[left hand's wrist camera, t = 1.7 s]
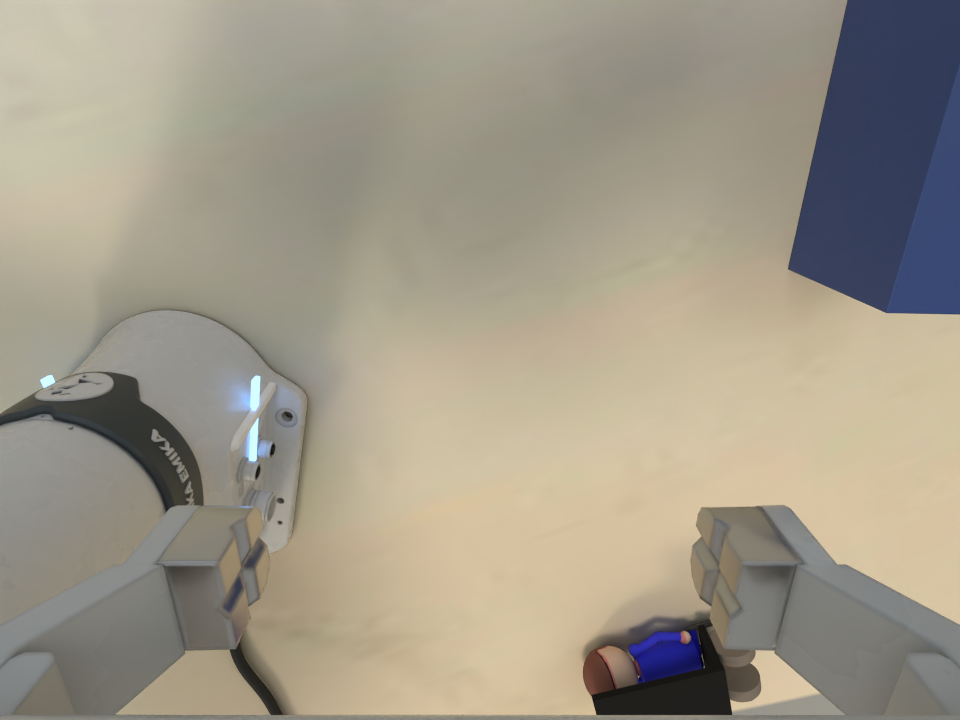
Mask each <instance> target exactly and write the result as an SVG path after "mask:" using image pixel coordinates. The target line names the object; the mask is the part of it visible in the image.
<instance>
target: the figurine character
mask: <svg viewBox="0 0 960 720" xmlns="http://www.w3.org/2000/svg"><path fill="white" fill-rule="evenodd" d="M710 626H713V625H712V623H711V620H708V621H704V622H701V623H698V624H695V625H692V626H689V627H687V628H686V629H685V630H684V631H682V632H681V633H680V632H655V633H654V634H652V635H651V636H650V637H648V638H647V639H645V640H644V641H642V642H641V643H639V644H638V645H637V644H631V645H630V646H629V652H630V654H631V655H632V656H633V657H634V660H635V661H632V659H631V658H630V657H629V656H628V655H627V654H626V653H625V652H624V651H623V650H621V649H619V648H617V647H614V646H609V645H605V646H600V647H598V648H596V649H594V650H593V651H592V652H591V653H590V654H589V655H588V657H587V658H586V660H585V663H584V667H583V679H584V683H585V686H586V688H587V690H588V692H589V694H590V695H591V696H592V699H593V703H594V707H595V710H596V714H597V715H732V710H731V704H730V700H733V701H736V702H748V701H751V700H753V699H755V698H756V697H757V696H758V695H759V694H760V692H761V682H760V675H759V672H758V670H757V669H756V668H755V667H754V666H753V665H752V664H750V662H751V661H752V660H753V659H754V657H755V650H737V649H724V647H723V645H722V643H721V641H720V639H719V637H718V635H717V633H716V631H715V629H714V630H713V631H712V632H711V634H710V636H709V634H708V632H707V630H706V627H710ZM697 630H698V632H699V637H700V643H701V644H699V640H698V636H697V633H696V631H697ZM702 655H703V660H704V663H703V660H702V657H701V656H702ZM704 666H705V668H704ZM637 674H638V676H640V677H639V678H638V676H637Z"/></svg>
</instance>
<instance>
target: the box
mask: <svg viewBox="0 0 960 720" xmlns="http://www.w3.org/2000/svg"><path fill="white" fill-rule="evenodd" d="M788 269H789V270H791V271H793V272H795V273H798V274H800V275H802V276H804V277H807V278H809V279H811V280H813V281H816V282H818V283H820V284H822V285H825V286H827V287H829V288H831V289H834V290H836V291H838V292H840V293H843V294H845V295H847V296H849V297H852V298H854V299H856V300H858V301H861V302H863V303H865V304H867V305H870V306H872V307H874V308H876V309H879V310H881V311H883V312H885V313H914V314H960V0H848V3H847V7H846V12H845V16H844V21H843V25H842V30H841V34H840V39H839V43H838V48H837V52H836V57H835V61H834V66H833V70H832V75H831V79H830V84H829V88H828V93H827V97H826V101H825V106H824V110H823V115H822V119H821V124H820V128H819V133H818V137H817V142H816V146H815V151H814V155H813V160H812V164H811V169H810V173H809V178H808V182H807V187H806V191H805V196H804V200H803V205H802V209H801V214H800V218H799V223H798V227H797V232H796V236H795V241H794V245H793V250H792V254H791V259H790V263H789V268H788Z"/></svg>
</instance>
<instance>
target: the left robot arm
mask: <svg viewBox="0 0 960 720" xmlns="http://www.w3.org/2000/svg"><path fill="white" fill-rule="evenodd" d="M40 381H41V383H42V385H43V387H44V388H43V389H41V390H39V391H37V392H35V393H34V394H32V395H30V396H28V397H27V398H25V399H23V400H22V401H20V402H18V403H17V404H15V405H13V406H12V407H10V408H8V409H7V410H5V411H4V412H2V413H1V414H0V720H960V625H959V624H957V623H955V622H953V621H951V620H950V619H948V618H946V617H944V616H942V615H940V614H938V613H936V612H934V611H933V610H931V609H929V608H927V607H925V606H923V605H921V604H919V603H917V602H916V601H914V600H912V599H910V598H908V597H906V596H904V595H902V594H901V593H899V592H897V591H895V590H893V589H891V588H889V587H887V586H885V585H884V584H882V583H880V582H878V581H876V580H874V579H872V578H870V577H868V576H867V575H865V574H863V573H861V572H859V571H857V570H855V569H853V568H852V567H850V566H848V565H837V564H836V562H835V561H834V560H833V559H832V558H831V556H830V555H829V554H828V553H827V552H826V550H825V549H824V548H823V547H822V546H821V544H820V543H819V542H818V541H817V540H816V538H815V537H814V536H813V535H812V534H811V532H810V531H809V530H808V529H807V528H806V526H805V525H804V524H803V523H802V522H801V521H800V519H799V518H798V517H797V516H796V515H795V513H794V512H793V511H792V510H791V509H790V508H789V507H787V506H785V505H768V506H756V507H701V509H700V511H699V513H698V517H697V523H696V527H697V529H698V530H699V532H700V534H701V536H702V537H701V538H700V539H699V540H698V541H697V542H696V543H695V544H694V545H693V546H692V554H691V571H692V578H693V582H694V585H695V588H696V590H697V593H698V595H699V597H700V599H702V600H703V601H704V602H706V603H707V604H708V605H710V606H711V612H710V617H709V618H710V620H711V623H712V625H713V627H714V629H715V631H716V633H717V635H718V637H719V639H720V641H721V643H722V645H723V647H724V649H737V650H773V651H775V654H776V655H777V656H779V657H780V658H781V659H782V660H783V661H784V662H786V663H787V664H788V665H789V666H790V667H791V668H792V669H794V670H795V671H796V672H797V673H798V674H799V675H800V676H802V677H803V678H804V679H805V680H806V681H807V682H809V683H810V684H811V685H812V686H813V687H814V688H815V689H817V690H818V691H819V692H820V693H821V694H822V695H824V696H825V697H826V698H827V699H828V700H829V701H830V702H832V703H833V704H834V705H835V706H836V707H837V708H838V709H840V710H841V711H842V712H843V713H844V714H845V715H283V713H282V712H281V710H280V708H279V706H278V704H277V702H276V701H275V699H274V697H273V696H272V694H271V693H270V691H269V690H268V688H267V687H266V686H265V684H264V683H263V682H262V681H261V680H260V678H259V677H258V676H257V675H256V674H255V672H254V671H253V670H252V668H251V667H250V666H249V664H248V662H247V661H246V659H245V657H244V655H243V653H242V650H241V647H240V639H241V637H242V635H243V633H244V631H245V629H246V627H247V625H248V623H249V620H250V618H251V617H250V612H249V606H250V605H252V604H253V603H254V602H256V601H257V600H258V599H260V597H261V595H262V593H263V590H264V588H265V586H266V581H267V577H268V572H269V554H272V553H274V552H276V551H278V550H280V549H282V548H283V547H285V546H286V545H287V543H288V542H289V540H290V539H291V535H292V530H293V522H294V514H295V505H296V497H297V488H298V480H299V471H300V463H301V454H302V446H303V437H304V429H305V420H306V412H307V396H306V394H305V393H304V391H303V390H302V389H301V388H300V387H298V386H297V385H295V384H294V383H292V382H291V381H289V380H287V379H286V378H284V377H282V376H280V375H279V374H277V373H275V372H274V371H273V370H272V369H270V368H269V367H268V365H267V364H266V363H265V362H264V361H263V360H262V358H261V357H260V356H259V355H258V354H257V353H256V351H255V350H254V349H253V348H252V347H251V346H250V345H249V344H248V343H247V342H246V341H245V340H243V339H242V338H241V337H240V336H239V335H237V334H236V333H234V332H233V331H232V330H230V329H228V328H227V327H225V326H223V325H221V324H220V323H218V322H215V321H213V320H211V319H209V318H206V317H203V316H200V315H197V314H193V313H189V312H183V311H175V310H158V311H150V312H145V313H141V314H138V315H135V316H132V317H130V318H127V319H126V320H124V321H122V322H120V323H119V324H117V325H116V326H115V327H113V328H112V329H111V330H110V331H109V332H108V333H107V334H106V335H105V336H104V337H103V339H102V340H101V341H100V343H99V344H98V346H97V347H96V348H95V350H94V351H93V352H92V353H91V355H90V356H89V357H88V358H87V359H86V360H85V361H84V362H83V363H82V364H81V365H80V366H79V367H78V368H77V369H76V370H75V371H74V372H73V373H72V374H70V375H69V376H68V377H66V378H63V379H61V380H59V381H57V382H55V381H54V379H53V376H52V375H50V376H47V377H45V378H43V379H41V380H40ZM284 412H290V413H291V414H292V416H293V417H287V416H286V415H285V413H284ZM222 649H230V652H231V655H232V658H233V661H234V663H235V665H236V667H237V668H238V670H239V672H240V673H241V675H242V676H243V677H244V679H245V680H246V681H247V682H248V684H249V685H250V686H251V687H252V688H253V690H254V691H255V692H256V693H257V694H258V696H259V697H260V698H261V700H262V701H263V703H264V704H265V706H266V707H267V709H268V711H269V713H270V714H271V715H115V714H116V713H117V712H118V711H119V710H121V709H122V708H123V707H124V706H125V705H126V704H128V703H129V702H130V701H131V700H132V699H133V698H134V697H136V696H137V695H138V694H139V693H140V692H141V691H142V690H144V689H145V688H146V687H147V686H148V685H149V684H151V683H152V682H153V681H154V680H155V679H156V678H157V677H159V676H160V675H161V674H162V673H163V672H164V671H166V670H167V669H168V668H169V667H170V666H171V665H172V664H174V663H175V662H176V661H177V660H178V659H179V658H181V657H182V656H183V655H184V654H185V651H187V650H222Z"/></svg>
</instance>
